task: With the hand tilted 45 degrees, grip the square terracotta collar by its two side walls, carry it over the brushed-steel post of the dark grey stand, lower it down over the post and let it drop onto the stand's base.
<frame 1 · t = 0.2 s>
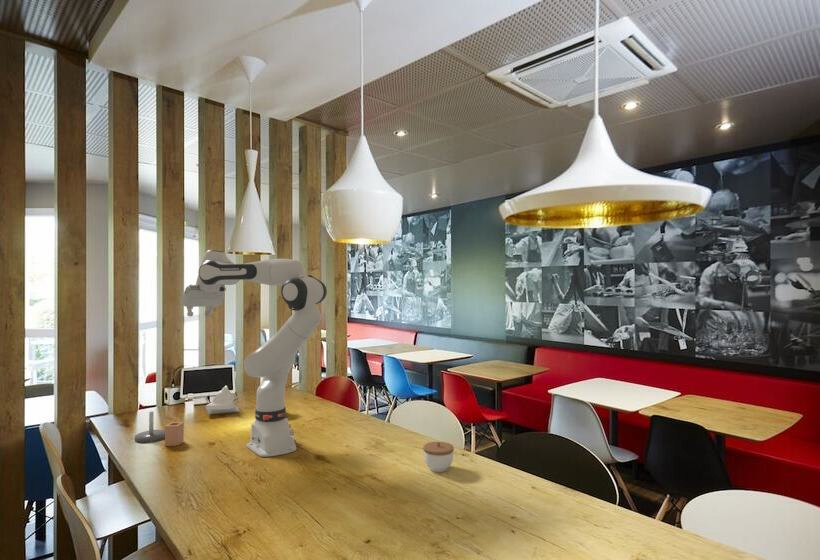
hand: (198, 315, 198), 51 cm above the table, tool tilted 20°, fingers open, 8 cm apart
collar: (174, 443, 185), on the table
coffee can: (269, 413, 230), on the table
stand: (151, 437, 192), on the table
white irregular peaked block: (223, 413, 230), on the table
lidded jar: (438, 469, 160), on the table
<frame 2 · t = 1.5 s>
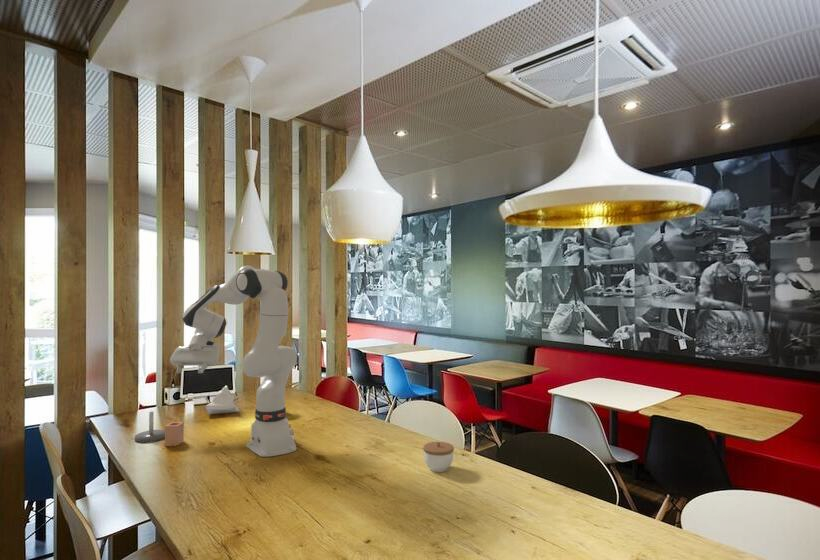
hand: (189, 372, 197), 27 cm above the table, tool tilted 45°, fingers open, 8 cm apart
nothing on the table moved.
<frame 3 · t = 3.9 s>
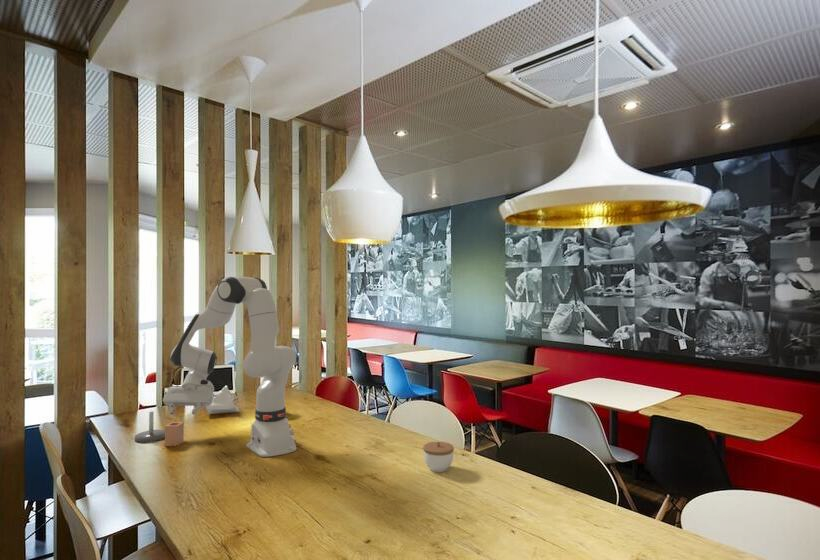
hand: (182, 413, 192), 10 cm above the table, tool tilted 45°, fingers open, 8 cm apart
nothing on the table moved.
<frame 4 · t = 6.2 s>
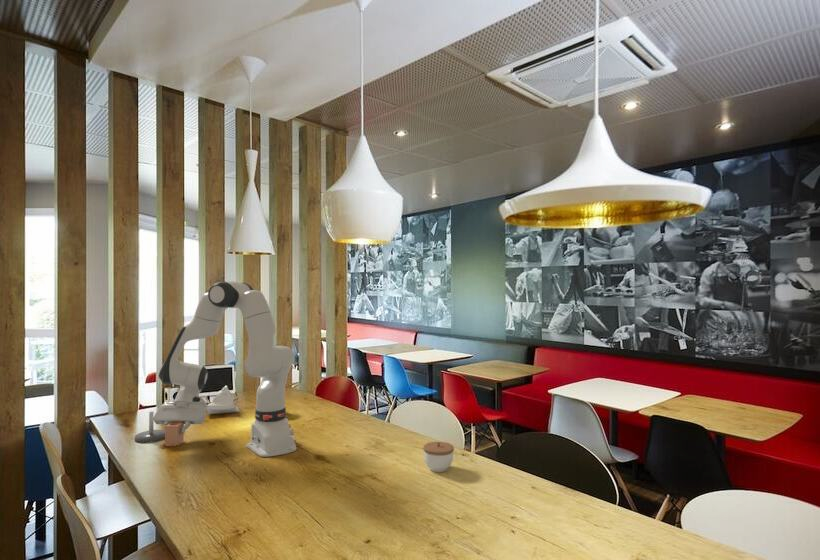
hand: (173, 433, 184), 5 cm above the table, tool tilted 45°, fingers closed on collar, 5 cm apart
collar: (174, 443, 185), on the table, touching gripper
everything else where it was.
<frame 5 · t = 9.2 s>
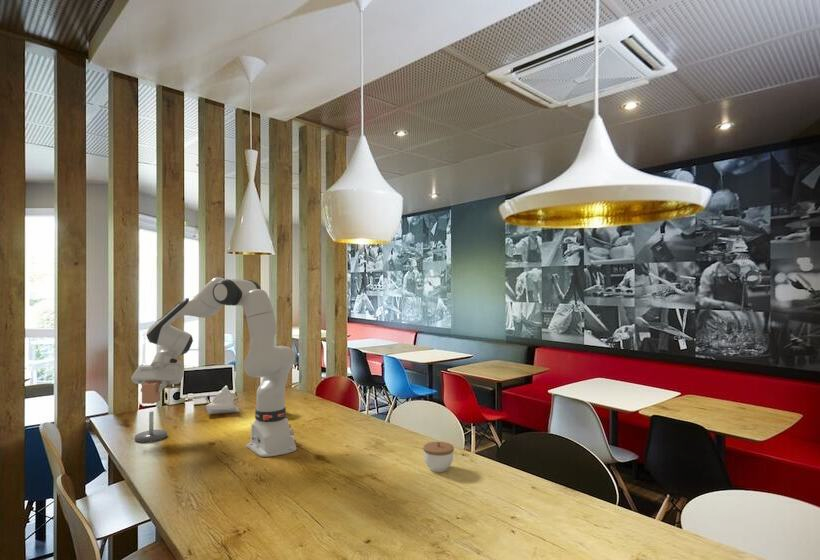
hand: (150, 391, 191), 20 cm above the table, tool tilted 45°, fingers closed on collar, 5 cm apart
collar: (151, 402, 192), point 15 cm above the table, touching gripper
everything else where it was.
when the fingers open (8 cm above the table, at t = 12.3 s): collar drops 2 cm, resting on stand.
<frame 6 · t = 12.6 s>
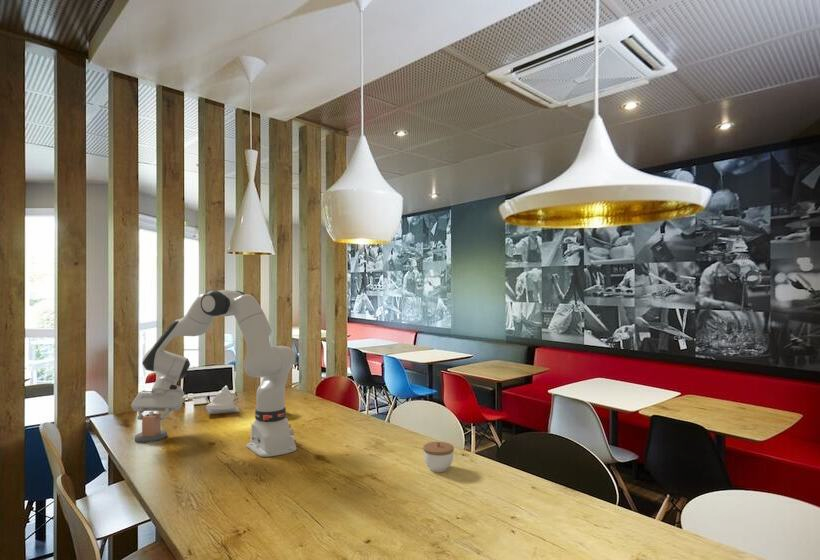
hand: (150, 419, 191), 8 cm above the table, tool tilted 45°, fingers open, 8 cm apart
collar: (151, 434, 192), point 1 cm above the table, touching stand
everything else where it was.
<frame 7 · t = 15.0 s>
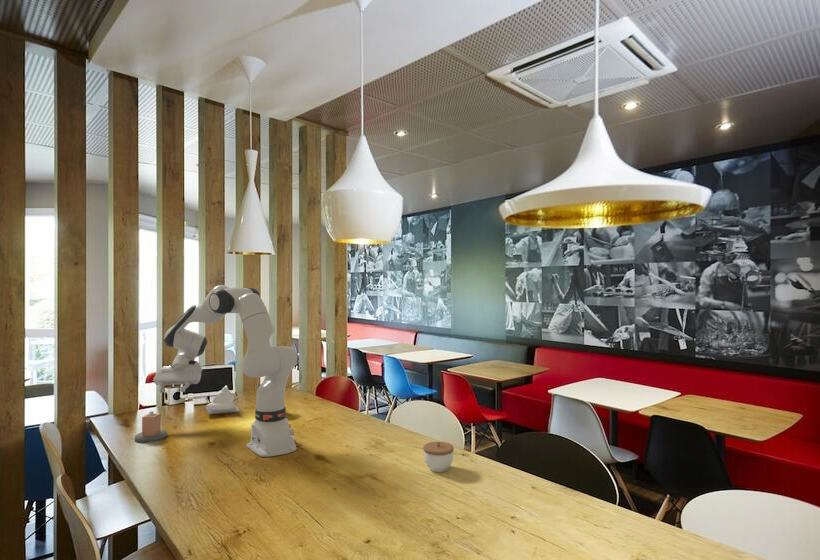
hand: (171, 391, 205), 16 cm above the table, tool tilted 45°, fingers open, 8 cm apart
nothing on the table moved.
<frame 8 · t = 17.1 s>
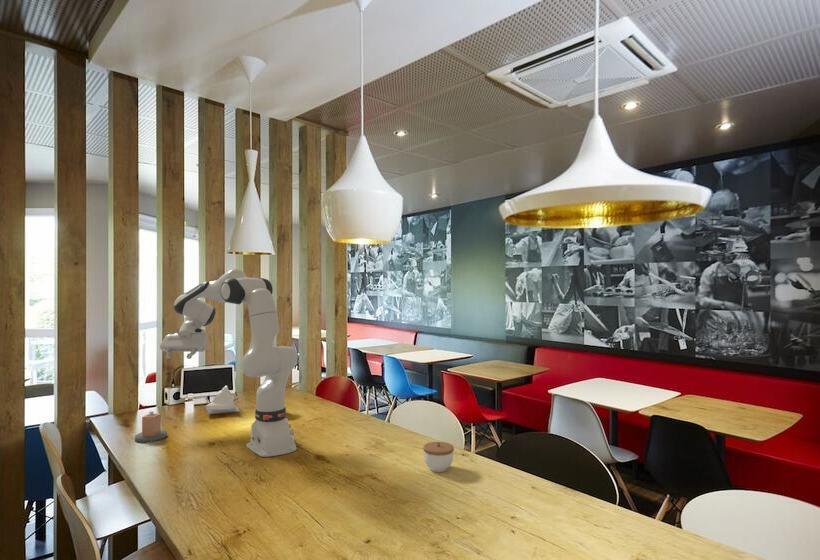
hand: (178, 358, 207), 31 cm above the table, tool tilted 45°, fingers open, 8 cm apart
nothing on the table moved.
at the end: collar 0.1 cm off-centre on the stand, point 1.5 cm above the stand's base; collar tilted 0°; the gripper is holding nothing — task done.
